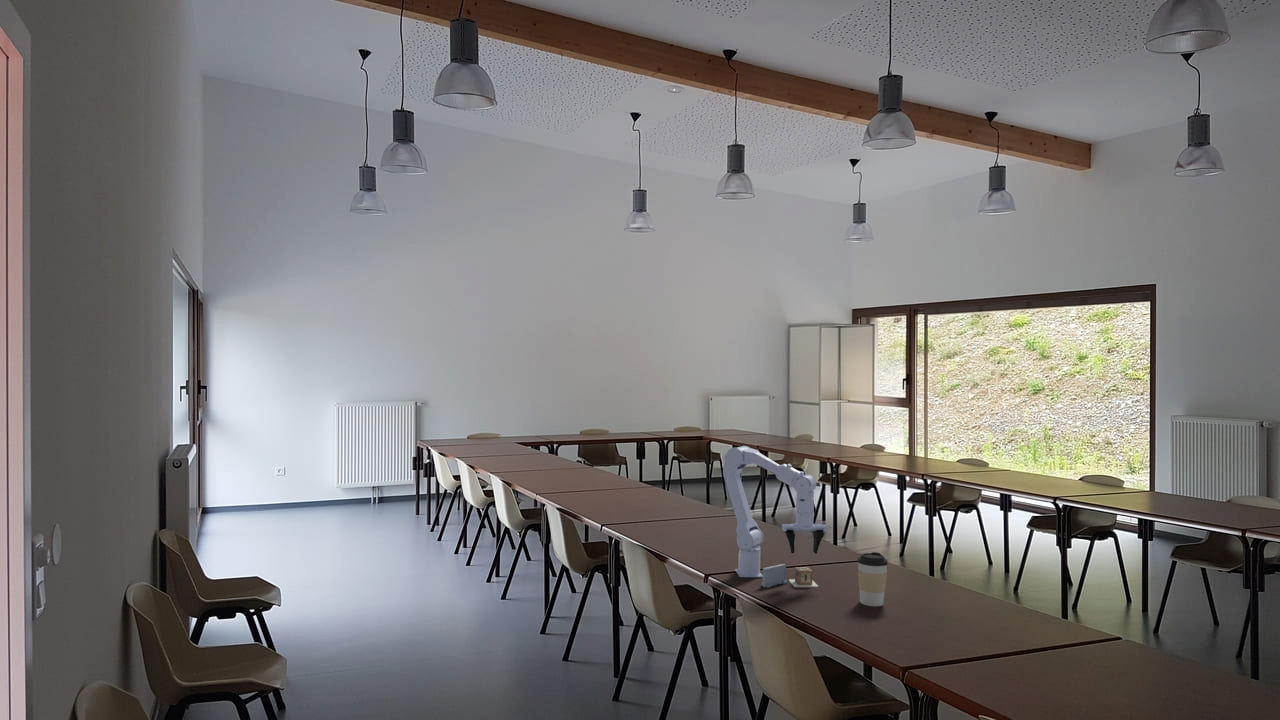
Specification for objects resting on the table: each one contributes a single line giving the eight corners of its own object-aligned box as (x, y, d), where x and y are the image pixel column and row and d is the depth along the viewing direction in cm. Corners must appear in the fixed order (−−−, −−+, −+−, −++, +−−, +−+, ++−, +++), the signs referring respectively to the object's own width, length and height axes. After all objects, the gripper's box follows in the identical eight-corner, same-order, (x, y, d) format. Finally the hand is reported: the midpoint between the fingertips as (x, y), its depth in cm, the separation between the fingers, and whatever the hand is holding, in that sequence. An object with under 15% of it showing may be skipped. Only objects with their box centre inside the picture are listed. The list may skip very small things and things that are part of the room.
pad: (788, 580, 282) (788, 579, 282) (811, 580, 282) (812, 579, 282) (794, 587, 274) (794, 585, 274) (818, 587, 274) (818, 586, 274)
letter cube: (794, 581, 280) (795, 566, 280) (808, 581, 280) (808, 566, 280) (798, 585, 275) (799, 570, 275) (812, 585, 275) (812, 570, 275)
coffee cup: (880, 609, 251) (881, 559, 251) (851, 603, 257) (852, 554, 257) (891, 602, 259) (892, 554, 259) (863, 596, 264) (864, 549, 264)
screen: (760, 585, 274) (760, 567, 274) (780, 581, 281) (781, 563, 281) (767, 588, 272) (767, 569, 272) (787, 583, 278) (788, 565, 278)
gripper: (785, 513, 273) (785, 555, 273) (829, 514, 274) (828, 555, 274) (781, 509, 280) (780, 550, 280) (823, 510, 281) (822, 550, 281)
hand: (803, 552), depth 278 cm, fingers open, 7 cm apart
